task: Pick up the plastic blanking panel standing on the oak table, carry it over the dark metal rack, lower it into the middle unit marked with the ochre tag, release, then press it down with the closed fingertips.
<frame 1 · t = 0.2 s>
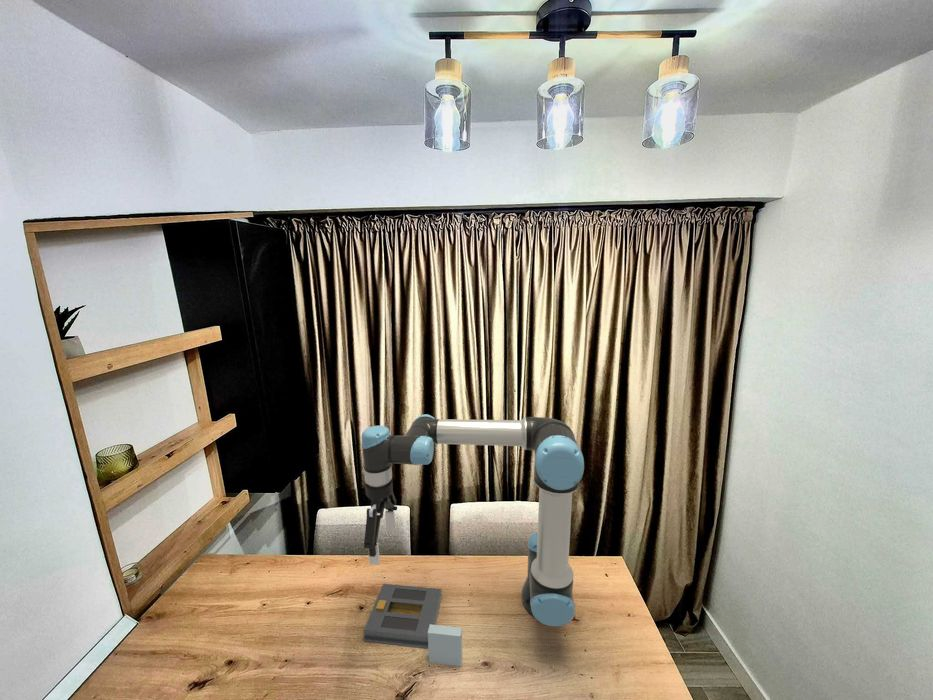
hand: (383, 546, 108), 27 cm above the table, fingers open, 13 cm apart
rack: (405, 617, 115), on the table
panel: (445, 659, 102), on the table
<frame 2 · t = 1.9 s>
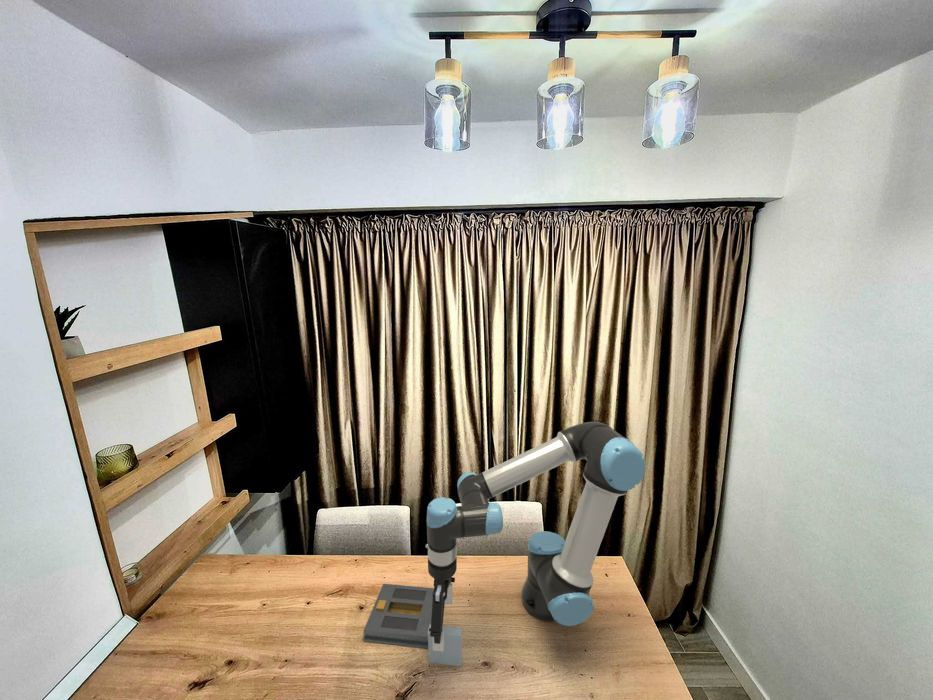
hand: (443, 625, 100), 12 cm above the table, fingers open, 13 cm apart
nothing on the table moved.
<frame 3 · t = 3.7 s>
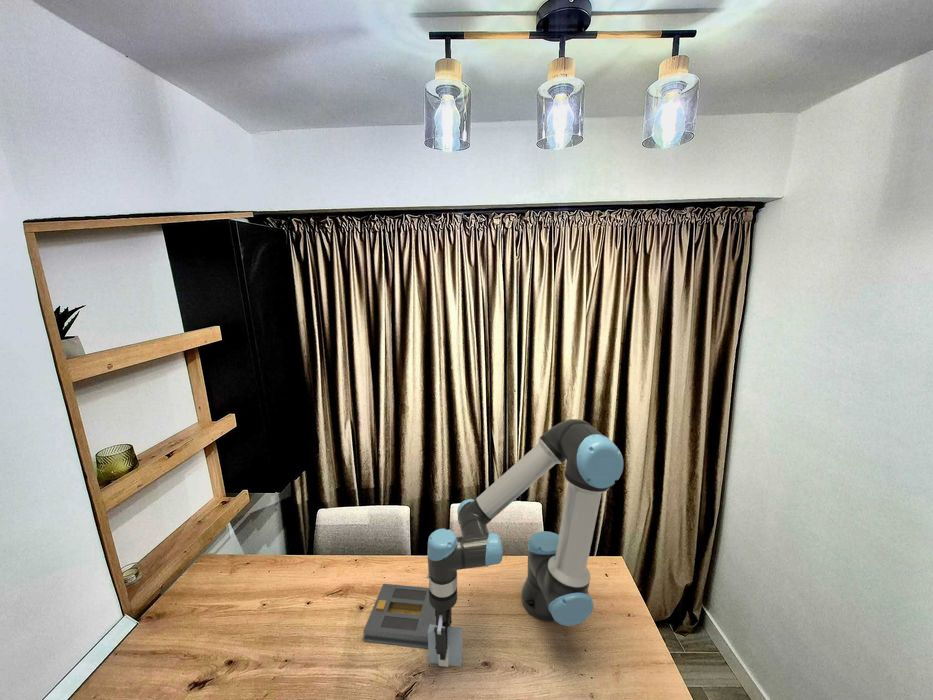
hand: (444, 658, 102), 0 cm above the table, fingers closed on panel, 2 cm apart
panel: (445, 660, 102), on the table, touching gripper
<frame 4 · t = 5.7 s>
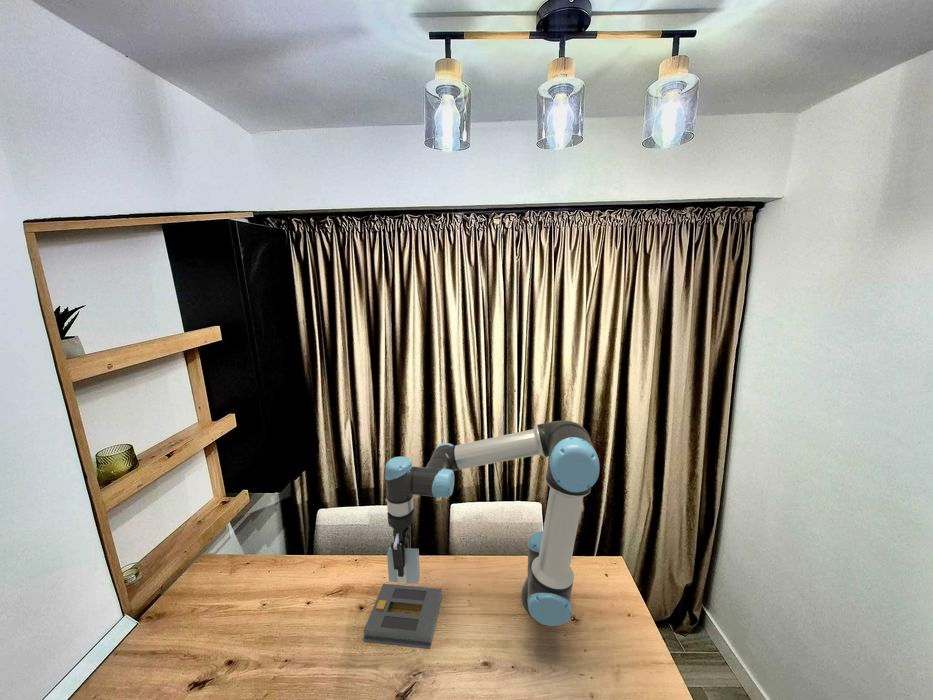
hand: (403, 578, 112), 15 cm above the table, fingers closed on panel, 2 cm apart
panel: (404, 579, 112), point 15 cm above the table, touching gripper
when the fingers open (4 cm above the table, at t = 7.8 s): panel drops 3 cm, resting on rack.
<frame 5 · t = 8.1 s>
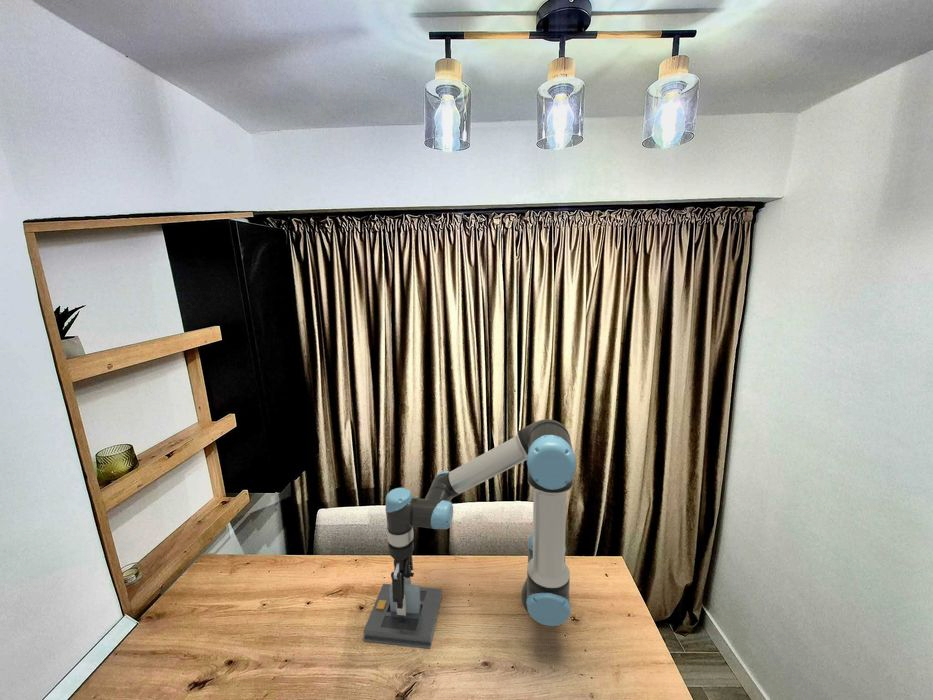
hand: (404, 604, 114), 5 cm above the table, fingers open, 6 cm apart
panel: (406, 614, 115), point 1 cm above the table, touching rack
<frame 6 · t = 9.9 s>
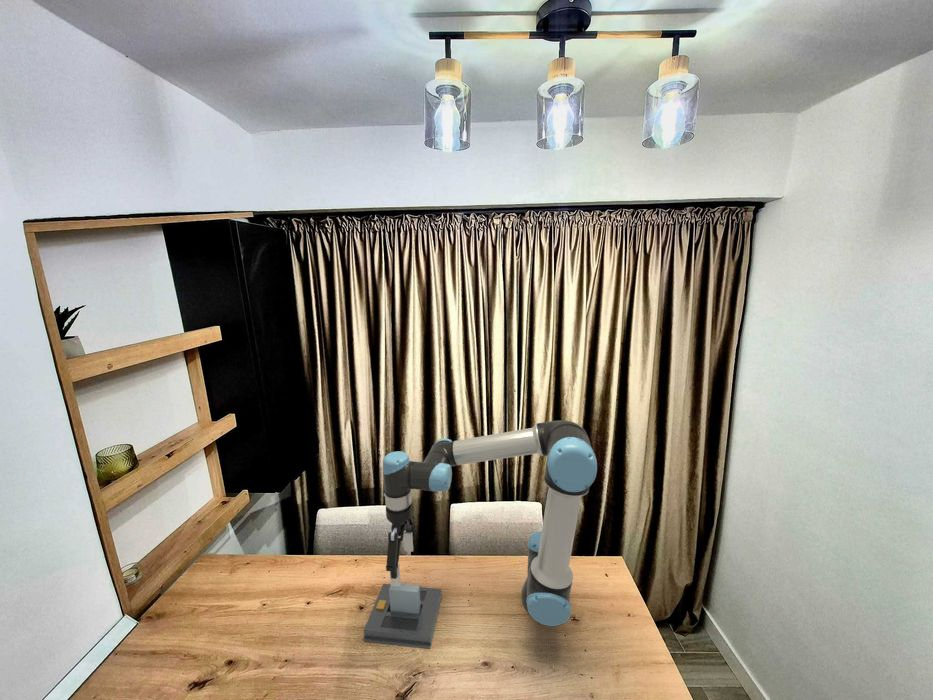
hand: (402, 566, 112), 18 cm above the table, fingers open, 13 cm apart
nothing on the table moved.
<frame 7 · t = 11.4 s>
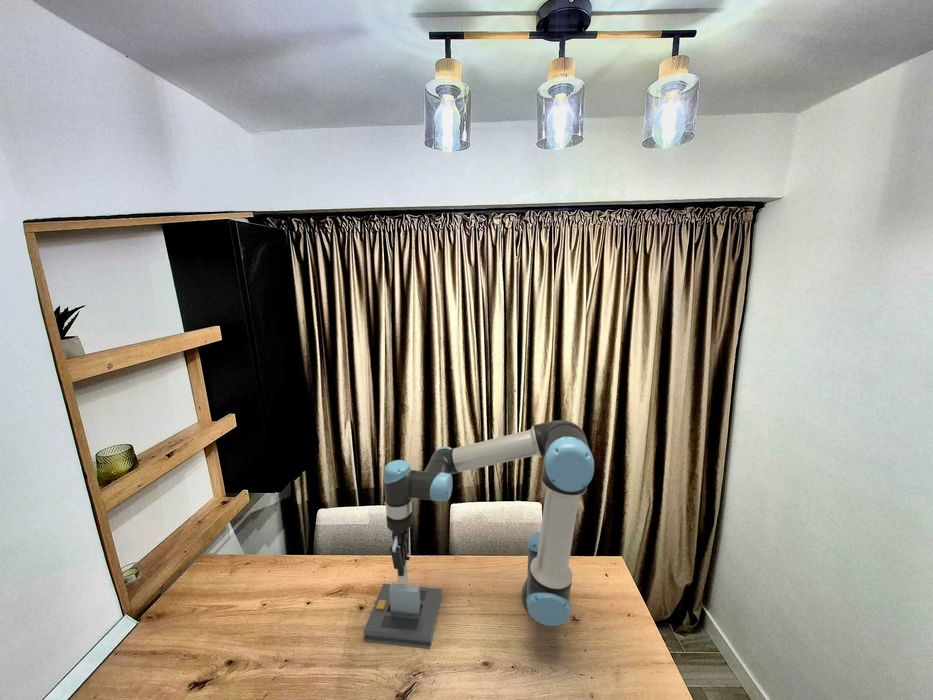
hand: (402, 581, 113), 13 cm above the table, fingers closed
nothing on the table moved.
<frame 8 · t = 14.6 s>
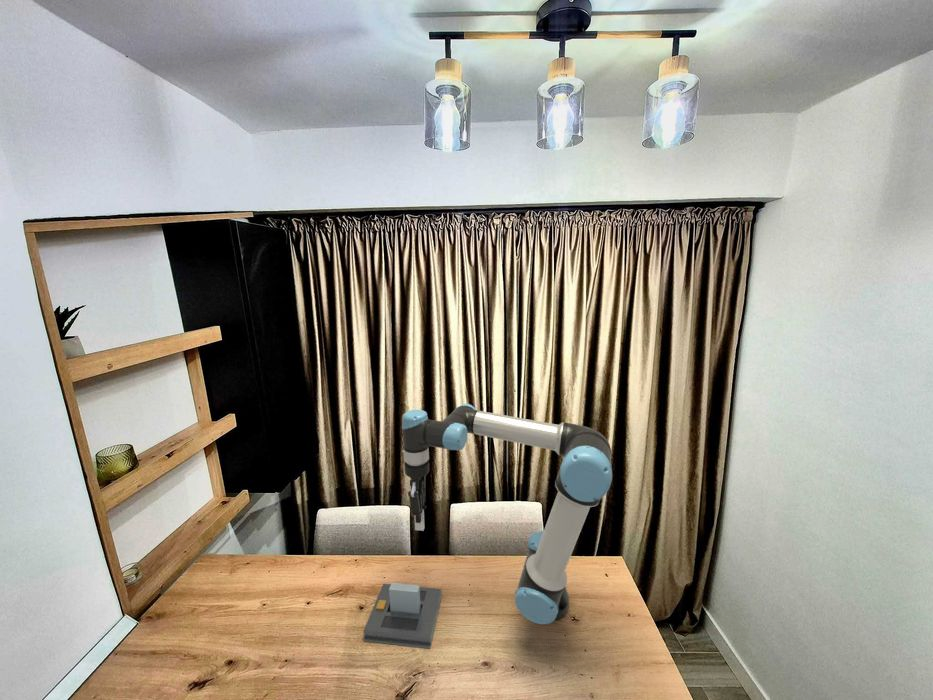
hand: (419, 528, 117), 26 cm above the table, fingers closed
nothing on the table moved.
at the end: panel 0.2 cm off-centre on the rack, point 0.9 cm above the rack's base; panel tilted 0°; the gripper is holding nothing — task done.
